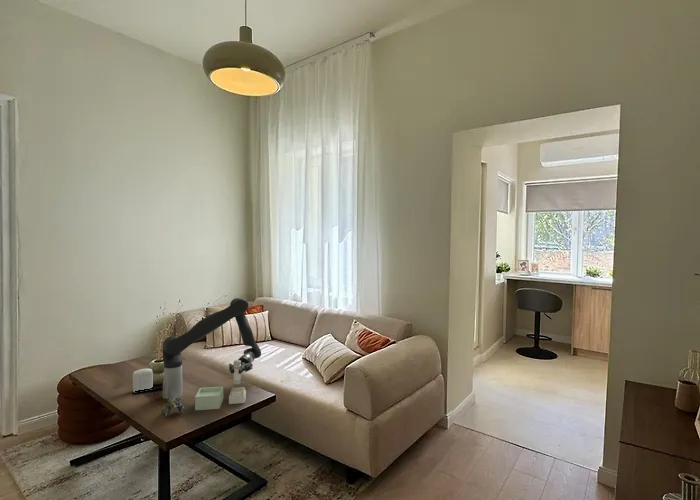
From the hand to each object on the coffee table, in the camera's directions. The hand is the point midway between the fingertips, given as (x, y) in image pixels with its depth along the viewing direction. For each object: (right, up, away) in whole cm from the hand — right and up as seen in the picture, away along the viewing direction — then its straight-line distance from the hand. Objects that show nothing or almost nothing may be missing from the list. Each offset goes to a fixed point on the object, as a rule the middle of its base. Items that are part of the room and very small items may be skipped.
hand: (235, 372), depth 205 cm
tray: (-13, -17, -2) cm, 21 cm away
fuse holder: (0, -17, +3) cm, 17 cm away
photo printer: (-59, -16, +17) cm, 63 cm away
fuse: (0, -7, +3) cm, 8 cm away
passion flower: (-27, -17, -14) cm, 35 cm away
